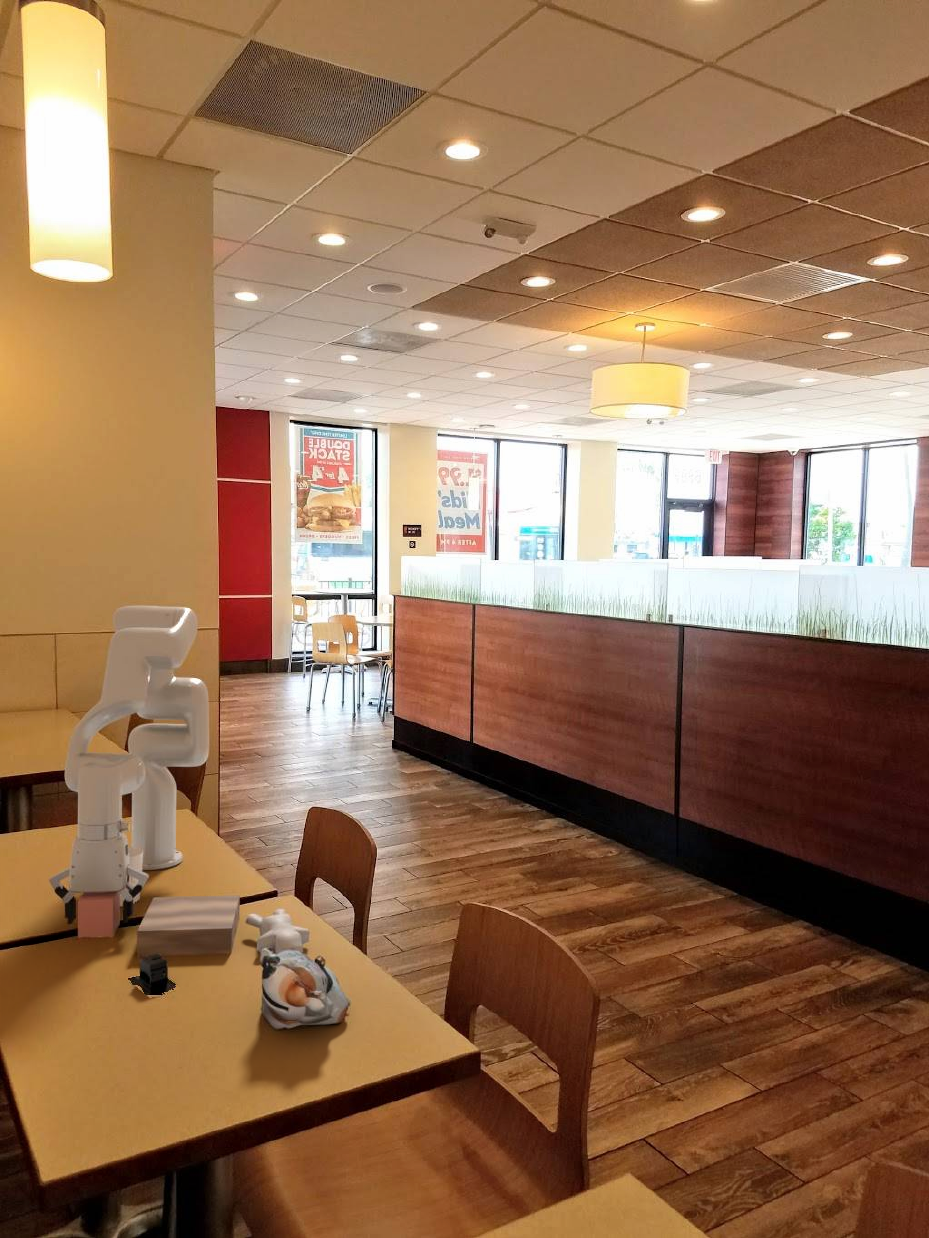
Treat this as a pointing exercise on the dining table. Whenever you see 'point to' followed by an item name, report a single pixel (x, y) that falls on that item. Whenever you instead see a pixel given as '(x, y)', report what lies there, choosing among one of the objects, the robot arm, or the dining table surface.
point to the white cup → (135, 862)
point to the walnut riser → (189, 926)
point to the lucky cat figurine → (299, 990)
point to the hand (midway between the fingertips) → (99, 920)
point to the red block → (98, 914)
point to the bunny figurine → (278, 932)
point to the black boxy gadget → (153, 976)
